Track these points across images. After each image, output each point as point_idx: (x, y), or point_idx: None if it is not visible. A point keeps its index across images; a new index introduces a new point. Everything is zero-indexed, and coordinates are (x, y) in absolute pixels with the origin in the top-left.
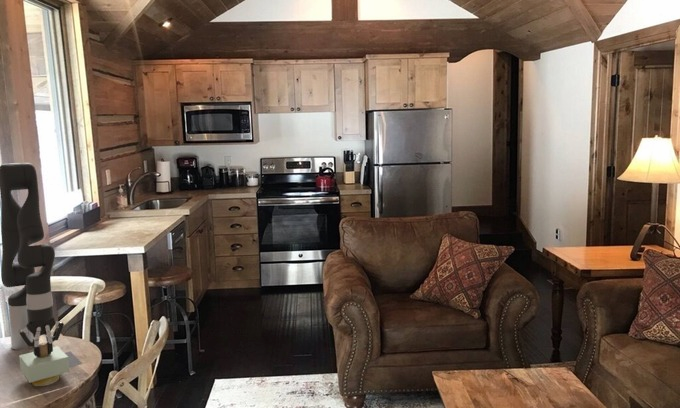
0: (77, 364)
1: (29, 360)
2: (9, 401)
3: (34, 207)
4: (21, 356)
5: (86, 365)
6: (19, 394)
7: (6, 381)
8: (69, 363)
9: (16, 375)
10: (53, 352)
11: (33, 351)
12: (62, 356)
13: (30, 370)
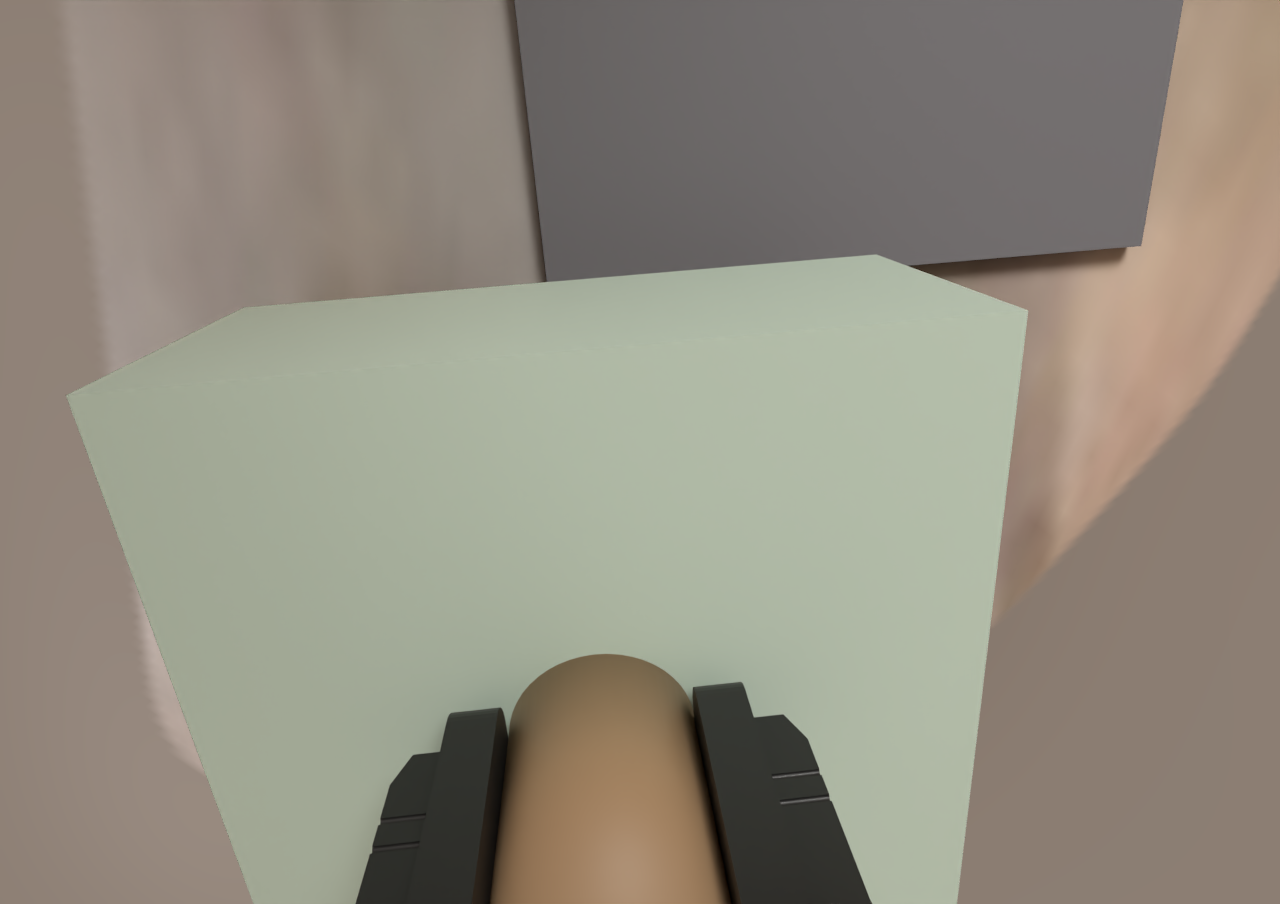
0: (1077, 230)
1: (320, 801)
2: (198, 757)
3: None
4: (134, 512)
5: (1149, 300)
6: None
7: (98, 178)
8: (1012, 110)
9: (233, 20)
10: (816, 653)
11: (377, 840)
12: (883, 901)
13: None
